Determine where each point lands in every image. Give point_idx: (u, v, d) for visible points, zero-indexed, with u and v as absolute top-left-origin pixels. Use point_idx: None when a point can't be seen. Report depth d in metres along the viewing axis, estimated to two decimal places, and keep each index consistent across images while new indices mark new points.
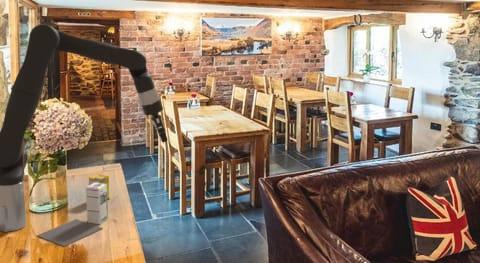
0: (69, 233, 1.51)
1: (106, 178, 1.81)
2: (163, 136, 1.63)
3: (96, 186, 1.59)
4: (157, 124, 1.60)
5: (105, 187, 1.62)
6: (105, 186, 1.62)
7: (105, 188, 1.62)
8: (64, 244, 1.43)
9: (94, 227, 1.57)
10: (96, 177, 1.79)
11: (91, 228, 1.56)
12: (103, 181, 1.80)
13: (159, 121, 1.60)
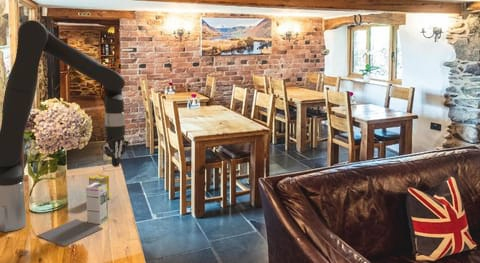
0: (69, 233, 1.51)
1: (106, 178, 1.81)
2: (113, 161, 1.66)
3: (96, 186, 1.59)
4: (104, 151, 1.63)
5: (105, 187, 1.62)
6: (105, 186, 1.62)
7: (105, 188, 1.62)
8: (64, 244, 1.43)
9: (94, 227, 1.57)
10: (96, 177, 1.79)
11: (91, 228, 1.56)
12: (103, 181, 1.80)
13: (105, 150, 1.61)
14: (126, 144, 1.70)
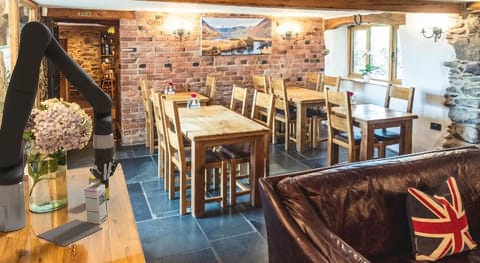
0: (69, 233, 1.51)
1: None
2: (102, 183, 1.63)
3: (94, 187, 1.58)
4: (93, 173, 1.59)
5: (104, 187, 1.61)
6: (103, 186, 1.60)
7: (103, 188, 1.61)
8: (64, 244, 1.43)
9: (94, 227, 1.57)
10: None
11: (91, 228, 1.56)
12: None
13: (94, 173, 1.58)
14: (115, 165, 1.66)
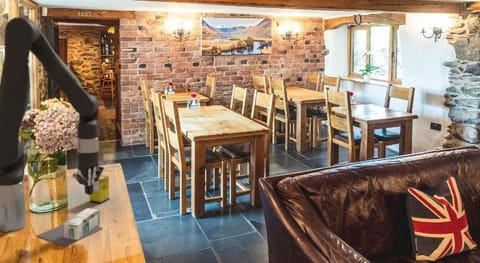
0: None
1: (106, 178, 1.81)
2: (86, 188, 1.56)
3: (72, 235, 1.46)
4: (76, 179, 1.52)
5: (79, 226, 1.46)
6: (78, 227, 1.46)
7: (79, 226, 1.47)
8: (64, 244, 1.43)
9: None
10: None
11: None
12: (103, 181, 1.80)
13: (77, 178, 1.51)
14: (100, 170, 1.60)
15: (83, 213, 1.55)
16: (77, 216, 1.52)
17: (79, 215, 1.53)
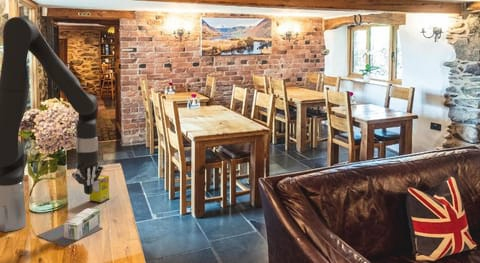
0: None
1: (106, 178, 1.81)
2: (85, 188, 1.56)
3: (72, 235, 1.46)
4: (75, 178, 1.52)
5: (79, 226, 1.46)
6: (78, 227, 1.46)
7: (79, 226, 1.47)
8: (64, 244, 1.43)
9: None
10: None
11: None
12: (103, 181, 1.80)
13: (76, 177, 1.51)
14: (100, 170, 1.59)
15: (83, 213, 1.55)
16: (77, 216, 1.52)
17: (79, 215, 1.53)
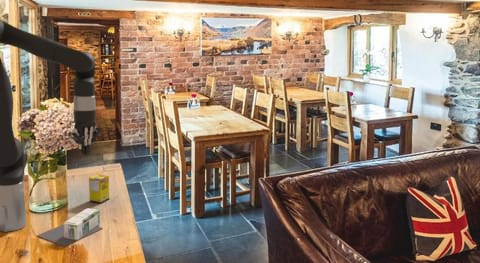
0: None
1: (106, 178, 1.81)
2: (82, 148, 1.53)
3: (72, 235, 1.46)
4: (72, 137, 1.50)
5: (79, 226, 1.46)
6: (78, 227, 1.46)
7: (79, 226, 1.47)
8: (64, 244, 1.43)
9: None
10: (96, 177, 1.79)
11: None
12: (103, 181, 1.80)
13: (73, 136, 1.49)
14: (98, 131, 1.57)
15: (83, 213, 1.55)
16: (77, 216, 1.52)
17: (79, 215, 1.53)
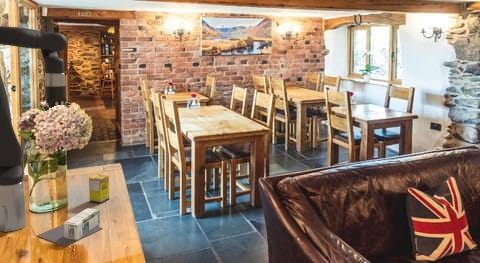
0: None
1: (106, 178, 1.81)
2: None
3: (72, 235, 1.46)
4: None
5: (79, 226, 1.46)
6: (78, 227, 1.46)
7: (79, 226, 1.47)
8: (64, 244, 1.43)
9: None
10: (96, 177, 1.79)
11: None
12: (103, 181, 1.80)
13: (45, 110, 1.64)
14: None
15: (83, 213, 1.55)
16: (77, 216, 1.52)
17: (79, 215, 1.53)
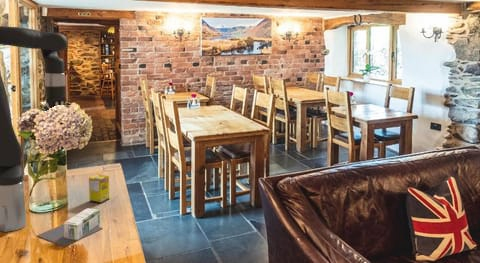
0: None
1: (106, 178, 1.81)
2: None
3: (72, 235, 1.46)
4: None
5: (79, 226, 1.46)
6: (78, 227, 1.46)
7: (79, 226, 1.47)
8: (64, 244, 1.43)
9: None
10: (96, 177, 1.79)
11: None
12: (103, 181, 1.80)
13: (45, 110, 1.64)
14: None
15: (83, 213, 1.55)
16: (77, 216, 1.52)
17: (79, 215, 1.53)
